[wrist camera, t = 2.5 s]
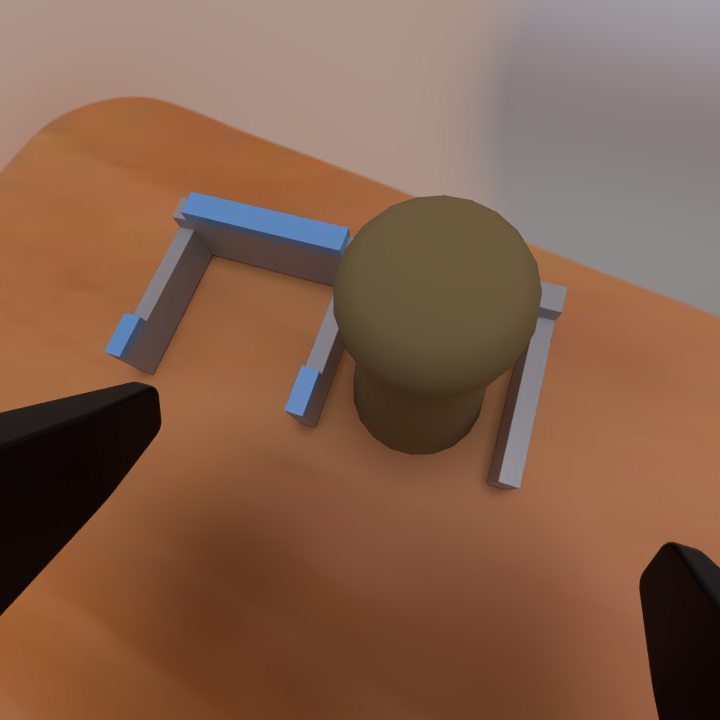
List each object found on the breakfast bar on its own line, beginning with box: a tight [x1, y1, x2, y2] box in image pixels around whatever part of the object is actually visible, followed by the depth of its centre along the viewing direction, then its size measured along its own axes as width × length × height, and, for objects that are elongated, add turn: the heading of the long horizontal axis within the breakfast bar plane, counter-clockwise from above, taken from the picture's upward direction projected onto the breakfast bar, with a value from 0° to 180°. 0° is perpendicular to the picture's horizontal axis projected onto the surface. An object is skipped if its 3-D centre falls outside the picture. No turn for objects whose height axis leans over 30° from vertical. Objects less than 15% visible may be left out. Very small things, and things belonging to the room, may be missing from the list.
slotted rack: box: [104, 192, 567, 490], centre depth 19 cm, size 18×8×4 cm, turn 71°
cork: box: [333, 195, 542, 455], centre depth 14 cm, size 6×6×11 cm
